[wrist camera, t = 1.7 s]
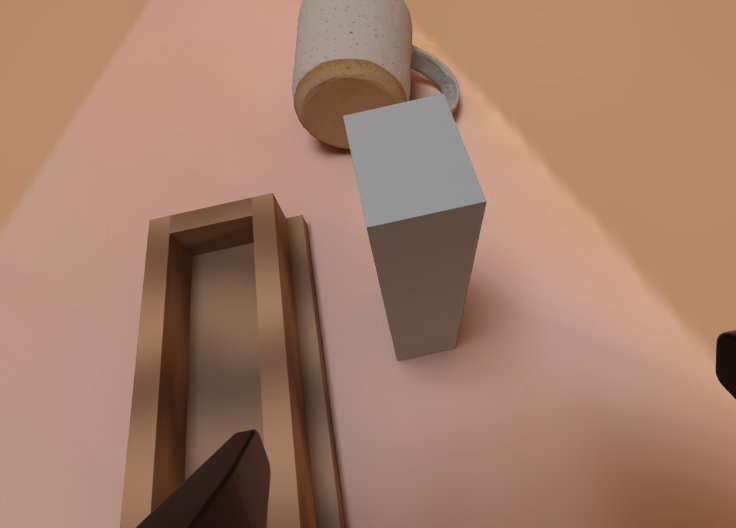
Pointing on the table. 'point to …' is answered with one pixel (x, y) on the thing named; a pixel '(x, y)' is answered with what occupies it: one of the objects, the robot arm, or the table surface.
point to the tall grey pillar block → (418, 217)
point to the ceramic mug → (357, 63)
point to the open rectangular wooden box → (231, 361)
